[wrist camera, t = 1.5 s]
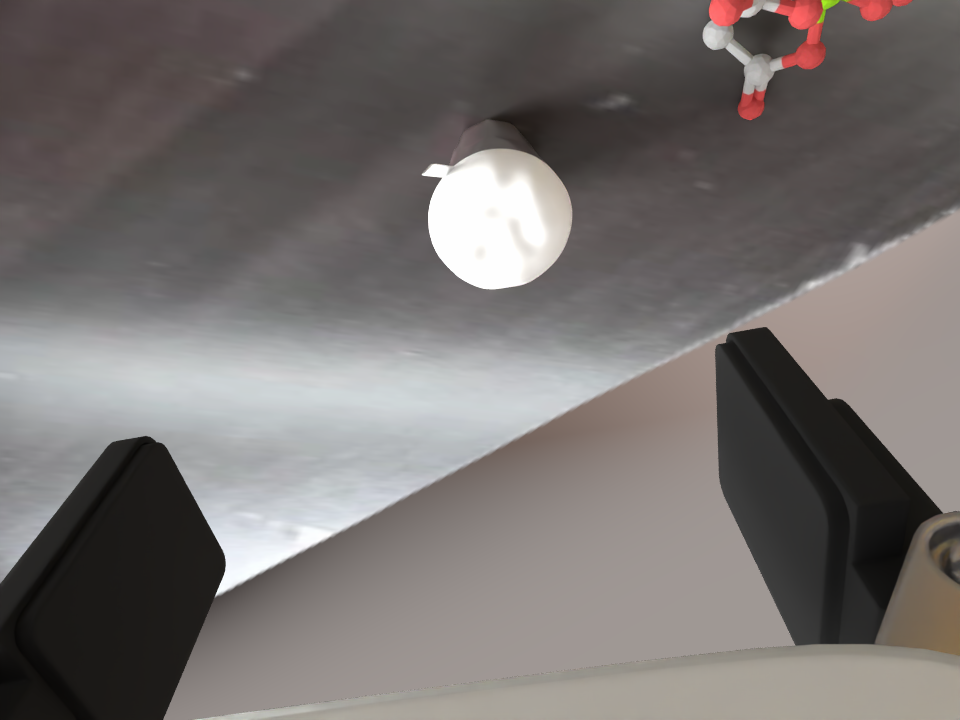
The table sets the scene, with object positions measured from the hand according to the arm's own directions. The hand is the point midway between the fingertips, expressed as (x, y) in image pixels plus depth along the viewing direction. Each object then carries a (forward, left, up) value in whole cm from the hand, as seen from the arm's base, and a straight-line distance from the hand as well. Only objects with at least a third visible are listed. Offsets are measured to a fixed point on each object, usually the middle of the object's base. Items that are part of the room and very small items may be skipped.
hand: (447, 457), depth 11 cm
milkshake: (0, +1, -20) cm, 20 cm away
